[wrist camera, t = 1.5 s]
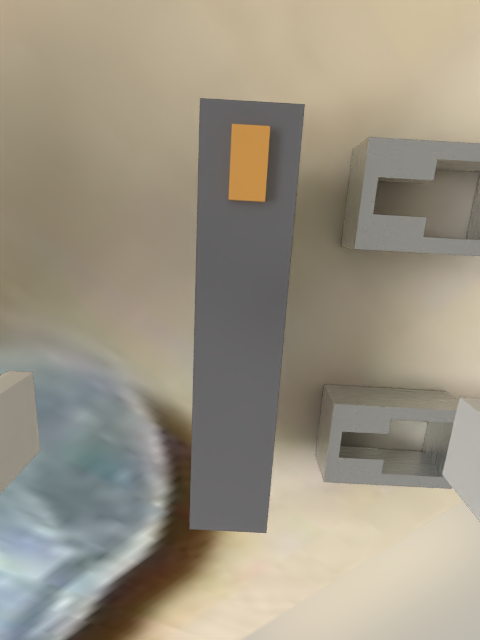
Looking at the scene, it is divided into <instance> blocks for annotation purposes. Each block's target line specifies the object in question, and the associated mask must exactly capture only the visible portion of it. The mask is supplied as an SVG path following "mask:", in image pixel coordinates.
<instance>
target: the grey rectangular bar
mask: <svg viewBox="0 0 480 640" xmlns="http://www.w3.org/2000/svg"><path fill="white" fill-rule="evenodd" d="M304 106H305V104H290V103H273V102H256V101H239V100H222V99H205V98H200V123H199V164H198V205H197V245H196V286H195V327H194V368H193V409H192V449H191V490H190V529H199V530H218V531H237V532H256V533H266V530H267V519H268V508H269V497H270V486H271V475H272V463H273V452H274V441H275V430H276V419H277V408H278V396H279V385H280V374H281V363H282V352H283V341H284V329H285V318H286V307H287V296H288V285H289V273H290V262H291V251H292V240H293V229H294V218H295V206H296V195H297V184H298V173H299V162H300V151H301V139H302V128H303V117H304Z"/></svg>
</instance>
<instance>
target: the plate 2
mask: <svg viewBox="0 0 480 640" xmlns="http://www.w3.org/2000/svg"><path fill="white" fill-rule="evenodd" d="M435 169H440V170H457V171H474V172H480V144H478V143H461V142H444V141H427V140H410V139H393V138H376V137H369V138H367V139H366V140H365V141H363V142H362V143H360V144H359V145H358V146H356V147H355V148H353V153H352V161H351V169H350V177H349V185H348V193H347V202H346V210H345V218H344V226H343V234H342V242H341V247H347V248H352V249H364V250H382V251H399V252H417V253H434V254H452V255H470V256H480V174H479V179H478V184H477V189H476V194H475V198H474V203H473V208H472V213H471V218H470V223H469V227H468V232H467V237H466V239H449V238H432V237H424V231H425V226H426V220H427V217H412V216H394V215H377V214H373V212H374V205H375V198H376V191H377V183H378V181H391V182H408V183H425V182H429V181H433V180H434V175H435Z"/></svg>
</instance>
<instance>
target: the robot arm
mask: <svg viewBox="0 0 480 640" xmlns="http://www.w3.org/2000/svg"><path fill="white" fill-rule="evenodd" d="M39 452H40V443H39V432H38V422H37V411H36V400H35V389H34V379H33V372H19V371H7V372H5V373H4V374H2V375H0V494H1V493H2V492H3V490H4V489H5V488H6V487H7V486H8V485H9V484H10V483H11V482H12V481H13V480H14V479H15V478H16V476H17V475H18V474H19V473H20V472H21V471H22V470H23V469H24V468H25V467H26V466H27V465H28V464H29V463H30V461H31V460H32V459H33V458H34V457H35V456H36V455H37V454H38V453H39ZM442 475H443V476H444V477H445V479H446V480H447V481H448V482H449V484H450V485H451V486H452V488H453V489H454V490H455V491H456V493H457V494H458V495H459V496H460V498H461V499H462V500H463V501H464V503H465V504H466V505H467V506H468V507H469V509H470V510H471V511H472V513H473V514H474V515H475V516H476V517H477V519H478V520H479V521H480V398H467V397H459V402H458V406H457V411H456V415H455V420H454V424H453V429H452V433H451V438H450V442H449V446H448V451H447V455H446V460H445V464H444V469H443V473H442Z"/></svg>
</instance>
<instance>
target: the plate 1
mask: <svg viewBox="0 0 480 640" xmlns="http://www.w3.org/2000/svg"><path fill="white" fill-rule="evenodd" d="M457 406H458V401H457V400H456V399H455V398H453V397H452V396H451V395H450V394H448V393H447V392H446V391H434V390H416V389H397V388H379V387H360V386H342V385H324V389H323V397H322V405H321V413H320V421H319V429H318V437H317V446H316V454H315V456H316V459H317V463H318V466H319V469H320V472H321V475H322V478H323V481H324V482H333V483H352V484H371V485H390V486H409V487H428V488H447V489H452V486H451V485H450V484H449V482H448V481H447V480H446V479H445V477H444V476H443V475H442V473H443V469H444V464H445V460H446V455H447V451H448V446H449V442H450V438H451V433H452V429H453V424H454V420H455V415H456V411H457ZM391 419H394V420H412V421H428V425H427V430H426V435H425V440H424V445H423V450H422V451H412V450H393V449H377V448H369V447H350V446H340V445H341V438H342V432H359V433H377V434H389V428H390V422H391Z"/></svg>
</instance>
